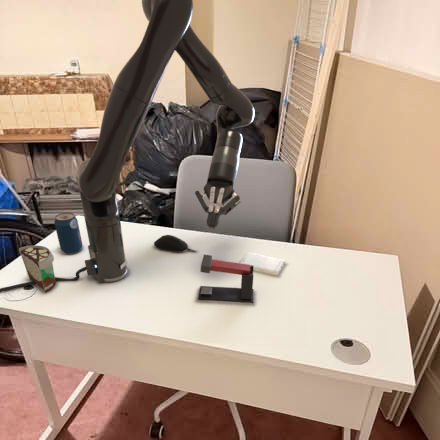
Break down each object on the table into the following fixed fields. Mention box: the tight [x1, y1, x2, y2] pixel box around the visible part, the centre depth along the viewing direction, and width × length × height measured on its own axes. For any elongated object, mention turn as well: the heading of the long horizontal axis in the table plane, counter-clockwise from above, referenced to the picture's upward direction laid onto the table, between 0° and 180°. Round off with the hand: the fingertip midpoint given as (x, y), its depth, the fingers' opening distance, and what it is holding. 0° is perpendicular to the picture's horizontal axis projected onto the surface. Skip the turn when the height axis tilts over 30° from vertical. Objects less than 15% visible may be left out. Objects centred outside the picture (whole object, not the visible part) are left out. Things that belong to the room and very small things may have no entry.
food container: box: [18, 245, 57, 293], centre depth 111 cm, size 12×6×10 cm, turn 47°
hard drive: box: [239, 251, 286, 276], centre depth 123 cm, size 2×8×12 cm
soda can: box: [53, 212, 84, 255], centre depth 126 cm, size 7×7×12 cm
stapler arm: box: [200, 254, 250, 276], centre depth 104 cm, size 13×6×2 cm, turn 86°
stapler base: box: [197, 265, 254, 304], centre depth 107 cm, size 15×6×9 cm, turn 86°
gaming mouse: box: [153, 234, 196, 253], centre depth 131 cm, size 6×15×4 cm, turn 70°
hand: (211, 227), depth 105 cm, fingers closed
